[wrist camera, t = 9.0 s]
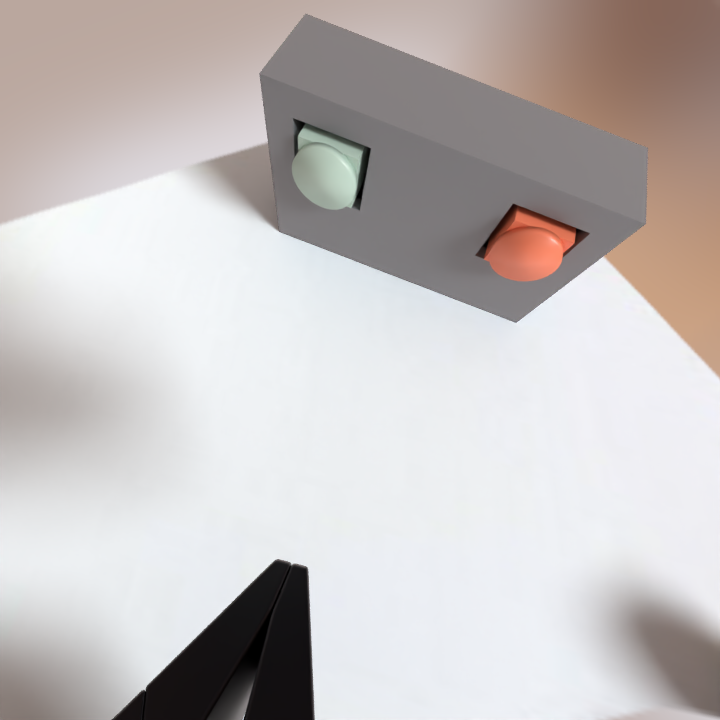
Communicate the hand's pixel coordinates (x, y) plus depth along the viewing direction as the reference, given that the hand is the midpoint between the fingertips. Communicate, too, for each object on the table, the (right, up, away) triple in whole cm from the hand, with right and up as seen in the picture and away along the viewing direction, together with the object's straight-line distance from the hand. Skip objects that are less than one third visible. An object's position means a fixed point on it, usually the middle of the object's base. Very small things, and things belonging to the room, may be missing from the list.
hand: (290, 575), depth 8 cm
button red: (+12, +13, +14) cm, 23 cm away
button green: (0, +17, +14) cm, 23 cm away
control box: (+6, +15, +20) cm, 26 cm away
